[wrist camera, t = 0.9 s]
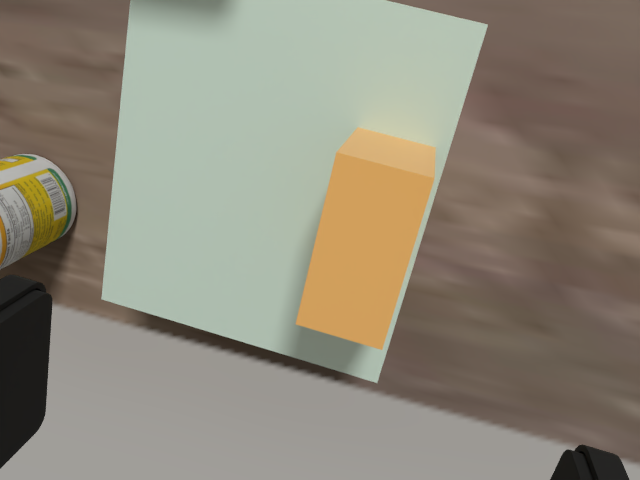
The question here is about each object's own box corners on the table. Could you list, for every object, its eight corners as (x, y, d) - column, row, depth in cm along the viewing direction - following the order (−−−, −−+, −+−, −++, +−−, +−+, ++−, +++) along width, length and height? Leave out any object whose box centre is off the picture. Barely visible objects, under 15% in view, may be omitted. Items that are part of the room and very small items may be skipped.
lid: (484, 25, 22) (502, 22, 16) (380, 363, 27) (363, 459, 21) (155, -54, 23) (53, -84, 17) (119, 285, 28) (31, 354, 22)
